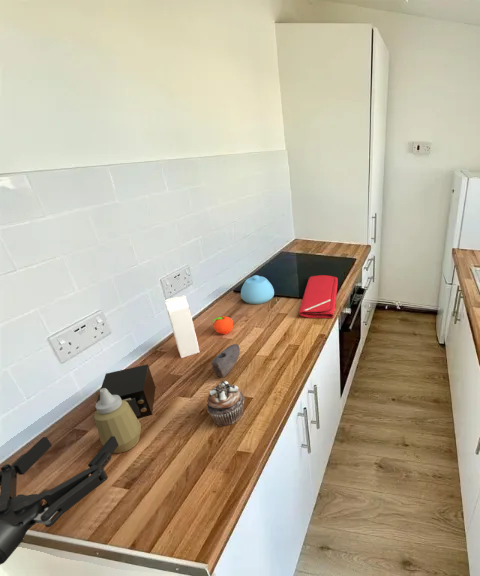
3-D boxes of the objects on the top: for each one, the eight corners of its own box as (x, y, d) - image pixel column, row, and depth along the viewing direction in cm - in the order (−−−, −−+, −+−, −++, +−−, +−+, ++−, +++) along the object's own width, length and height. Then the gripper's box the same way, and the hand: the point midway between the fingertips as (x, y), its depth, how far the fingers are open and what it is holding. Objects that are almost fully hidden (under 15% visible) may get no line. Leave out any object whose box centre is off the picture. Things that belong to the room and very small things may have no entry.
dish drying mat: (338, 280, 179) (338, 274, 178) (334, 318, 143) (334, 311, 141) (309, 279, 178) (309, 273, 176) (297, 318, 141) (297, 311, 139)
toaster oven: (106, 431, 86) (94, 405, 82) (115, 397, 96) (105, 373, 92) (151, 418, 90) (142, 393, 86) (155, 387, 101) (148, 364, 97)
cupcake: (201, 423, 89) (194, 396, 85) (226, 398, 98) (220, 372, 94) (231, 432, 87) (225, 404, 83) (253, 406, 96) (249, 380, 91)
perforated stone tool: (232, 352, 118) (230, 337, 115) (246, 354, 117) (244, 338, 114) (209, 381, 104) (205, 364, 101) (224, 382, 104) (221, 365, 101)
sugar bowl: (234, 302, 151) (230, 280, 146) (253, 289, 164) (250, 268, 159) (264, 307, 148) (261, 284, 143) (280, 293, 161) (278, 272, 156)
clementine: (211, 338, 125) (208, 323, 122) (213, 329, 130) (210, 314, 127) (234, 336, 127) (231, 320, 124) (235, 326, 133) (232, 311, 130)
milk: (178, 350, 118) (162, 296, 108) (196, 344, 121) (183, 291, 112) (181, 358, 113) (165, 303, 104) (200, 352, 117) (187, 298, 107)
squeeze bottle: (141, 425, 88) (121, 373, 80) (148, 444, 83) (127, 390, 75) (103, 442, 83) (77, 388, 75) (108, 464, 78) (81, 408, 70)
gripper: (-100, 573, 51) (26, 453, 70) (69, 567, 53) (147, 452, 72) (-130, 547, 48) (10, 429, 67) (51, 542, 50) (137, 428, 69)
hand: (81, 440), depth 70 cm, fingers open, 13 cm apart
